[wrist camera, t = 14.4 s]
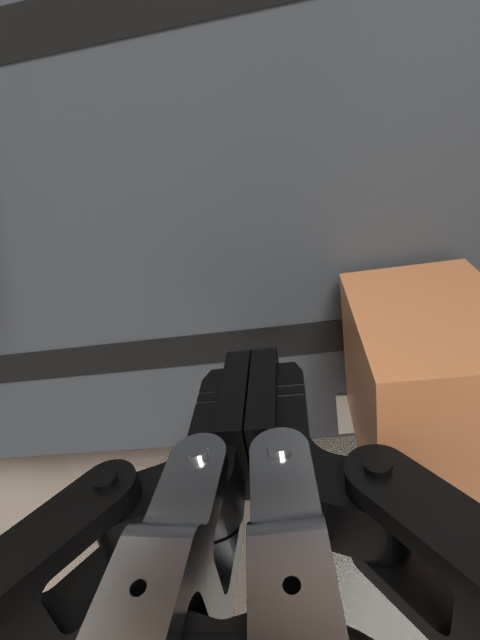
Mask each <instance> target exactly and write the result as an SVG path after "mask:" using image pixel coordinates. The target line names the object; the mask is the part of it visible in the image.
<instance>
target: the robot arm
mask: <svg viewBox="0 0 480 640" xmlns="http://www.w3.org/2000/svg"><path fill="white" fill-rule="evenodd" d="M196 402H197V404H196V405H195V409H194V412H193V416H192V420H191V424H190V428H189V431H188V435H187V437H186V438H184V439H182V440H181V441H179V442H178V443H177V444H176V445H175V446H174V447H173V449H172V450H171V452H170V454H169V457H168V460H167V461H166V462H164V463H162V464H159V465H157V466H154V467H150V468H147V469H144V470H141V471H138V472H136V470H135V468H134V466H133V465H132V464H131V463H130V462H128V461H126V460H121V459H115V460H109V461H105V462H103V463H100V464H98V465H97V466H95V467H93V468H92V469H90V470H89V471H88V472H86V473H85V474H83V475H82V476H81V477H79V478H78V479H77V480H75V481H74V482H73V483H71V484H70V485H68V486H67V487H66V488H64V489H63V490H62V491H60V492H59V493H58V494H56V495H55V496H53V497H52V498H51V499H49V500H48V501H47V502H45V503H44V504H43V505H41V506H40V507H39V508H37V509H36V510H34V511H33V512H32V513H30V514H29V515H28V516H26V517H25V518H24V519H22V520H21V521H19V522H18V523H17V524H15V525H14V526H13V527H11V528H10V529H9V530H7V531H6V532H4V533H3V534H2V535H0V640H374V639H372V638H371V637H369V636H367V635H366V634H364V633H362V632H360V631H359V630H356V629H354V628H352V627H349V626H347V625H346V622H345V616H344V611H343V606H342V601H341V596H340V591H339V586H338V581H337V576H336V571H335V566H334V561H333V556H332V551H333V552H336V553H339V554H343V555H346V556H349V557H351V558H352V560H353V562H354V564H355V566H356V567H357V568H358V569H359V570H360V571H361V572H362V573H363V574H364V575H365V576H366V577H367V578H368V579H369V580H370V581H371V582H372V583H373V584H374V585H375V586H376V587H377V588H378V589H379V590H380V591H381V592H382V593H383V594H384V595H385V596H386V597H387V598H388V599H389V600H390V601H391V602H392V603H393V604H394V605H395V606H396V607H397V608H398V609H399V610H400V611H401V612H402V613H403V614H404V615H405V616H406V617H407V618H408V619H409V620H410V621H411V622H412V623H413V624H414V625H415V626H416V627H417V628H418V629H419V630H420V631H421V632H422V633H423V634H424V635H425V636H426V637H427V638H428V639H429V640H480V503H479V502H478V501H476V500H474V499H473V498H471V497H470V496H468V495H467V494H465V493H464V492H462V491H461V490H459V489H457V488H456V487H454V486H453V485H451V484H450V483H448V482H447V481H445V480H444V479H442V478H441V477H439V476H437V475H436V474H434V473H433V472H431V471H430V470H428V469H427V468H425V467H424V466H422V465H420V464H419V463H417V462H416V461H414V460H413V459H411V458H410V457H408V456H407V455H405V454H404V453H402V452H400V451H399V450H397V449H395V448H393V447H390V446H386V445H381V444H368V445H363V446H360V447H358V448H356V449H354V450H353V451H351V452H350V453H349V454H348V456H342V455H337V454H333V453H330V452H327V451H325V450H323V449H321V448H320V447H318V446H317V445H316V444H315V443H314V442H313V441H312V439H311V438H310V430H309V419H308V409H307V401H306V392H305V383H304V375H303V370H302V369H301V368H300V367H299V366H298V365H297V363H296V362H285V363H279V359H278V353H277V348H276V347H269V348H259V349H252V351H251V349H250V350H240V351H230V352H227V353H226V358H225V363H224V368H222V369H211V371H210V372H209V373H208V374H207V375H206V376H205V377H204V379H203V380H202V382H201V386H200V390H199V394H198V397H197V401H196ZM245 500H250V515H251V518H250V522H248V523H247V528H246V564H247V613H245V614H241V615H238V616H234V617H233V599H234V593H235V586H236V580H237V574H238V568H239V561H240V555H241V549H242V542H243V536H244V529H245V525H244V520H243V515H244V504H245ZM96 540H97V542H98V544H99V546H100V547H99V548H98V549H96V550H95V551H94V552H93V553H92V554H91V555H89V556H88V557H87V558H86V559H85V560H84V561H83V562H81V563H80V564H79V565H78V566H77V567H76V568H75V569H73V570H72V571H71V572H70V573H69V574H68V575H67V576H65V577H64V578H63V579H62V580H61V581H60V582H59V583H57V584H56V585H55V586H54V587H53V588H51V589H50V590H48V591H46V592H44V593H42V592H43V589H44V588H45V586H46V585H47V583H48V582H49V581H50V580H51V579H52V578H53V577H54V576H55V575H57V574H58V573H59V572H60V571H61V570H62V569H64V568H65V567H66V566H67V565H68V564H69V563H71V562H72V561H73V560H74V559H75V558H76V557H78V556H79V555H80V554H81V553H82V552H83V551H85V550H86V549H87V548H88V547H89V546H90V545H92V544H93V543H94V542H95V541H96Z"/></svg>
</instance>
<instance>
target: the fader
mask: <svg viewBox="0 0 480 640" xmlns="http://www.w3.org/2000/svg"><path fill="white" fill-rule="evenodd" d="M339 278H340V294H341V309H342V325H343V341H344V357H345V373H346V389H347V401H348V405H349V410H350V414H351V419H352V423H353V428H354V432H355V437H356V441H357V446H358V447H360V446H363V445H368V444H381V445H386V446H390V447H393V448H395V449H397V450H399V451H400V452H402V453H404V454H405V455H407V456H408V457H410V458H411V459H413V460H414V461H416V462H417V463H419V464H420V465H422V466H424V467H425V468H427V469H428V470H430V471H431V472H433V473H434V474H436V475H437V476H439V477H441V478H442V479H444V480H445V481H447V482H448V483H450V484H451V485H453V486H454V487H456V488H457V489H459V490H461V491H462V492H464V493H465V494H467V495H468V496H470V497H471V498H473V499H474V500H476V501H478V502H479V503H480V272H479V271H478V270H477V269H476V268H475V267H474V266H473V265H471V264H470V263H469V262H468V261H467V260H466V259H457V260H449V261H440V262H432V263H424V264H415V265H407V266H399V267H391V268H382V269H374V270H366V271H358V272H349V273H341V274H339Z"/></svg>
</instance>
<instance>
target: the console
mask: <svg viewBox="0 0 480 640" xmlns="http://www.w3.org/2000/svg"><path fill="white" fill-rule="evenodd" d="M457 259H466V260H467V261H468V262H469V263H470V264H471V265H473V266H474V267H475V268H476V269H477V270H478V271H479V272H480V0H0V458H16V457H31V456H46V455H61V454H76V453H92V452H107V451H122V450H137V449H153V448H168V447H174V446H175V445H176V444H177V443H178V442H179V441H181V440H182V439H184V438H186V437H187V435H188V431H189V428H190V424H191V420H192V416H193V412H194V409H195V405H196V404H197V402H196V401H197V397H198V394H199V390H200V386H201V382H202V380H203V379H204V377H205V376H206V375H207V374H208V373H209V372H210V371H211V369H222V368H224V363H225V358H226V353H227V352H230V351H240V350H250V349H251V351H252V349H259V348H269V347H276V348H277V353H278V359H279V363H285V362H296V363H297V365H298V366H299V367H300V368H301V369H302V370H303V375H304V383H305V392H306V401H307V409H308V419H309V430H310V438H320V437H335V436H350V435H355V432H354V428H353V423H352V419H351V414H350V410H349V405H348V401H347V389H346V373H345V357H344V341H343V325H342V309H341V294H340V278H339V274H341V273H349V272H358V271H366V270H374V269H382V268H391V267H399V266H407V265H415V264H424V263H432V262H440V261H449V260H457Z"/></svg>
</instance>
